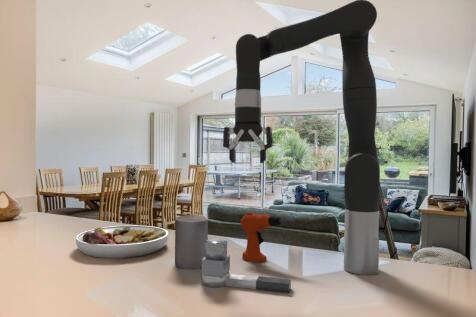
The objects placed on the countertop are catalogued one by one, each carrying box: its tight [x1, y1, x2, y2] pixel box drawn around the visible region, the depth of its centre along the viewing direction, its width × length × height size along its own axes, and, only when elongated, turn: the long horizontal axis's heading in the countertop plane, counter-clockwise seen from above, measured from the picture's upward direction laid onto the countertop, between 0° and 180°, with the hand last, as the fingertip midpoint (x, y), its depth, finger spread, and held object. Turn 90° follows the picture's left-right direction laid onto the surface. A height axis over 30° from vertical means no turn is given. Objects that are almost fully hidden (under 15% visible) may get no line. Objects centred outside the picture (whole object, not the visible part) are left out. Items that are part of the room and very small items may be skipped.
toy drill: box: [240, 211, 297, 263], centre depth 118 cm, size 5×19×15 cm, turn 61°
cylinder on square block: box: [201, 238, 231, 277], centre depth 100 cm, size 6×6×8 cm
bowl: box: [75, 224, 169, 259], centre depth 133 cm, size 30×30×8 cm
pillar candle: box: [174, 213, 209, 270], centre depth 115 cm, size 10×10×15 cm
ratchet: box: [201, 271, 292, 294], centre depth 98 cm, size 22×7×6 cm, turn 74°
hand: (247, 162), depth 113 cm, fingers open, 8 cm apart
